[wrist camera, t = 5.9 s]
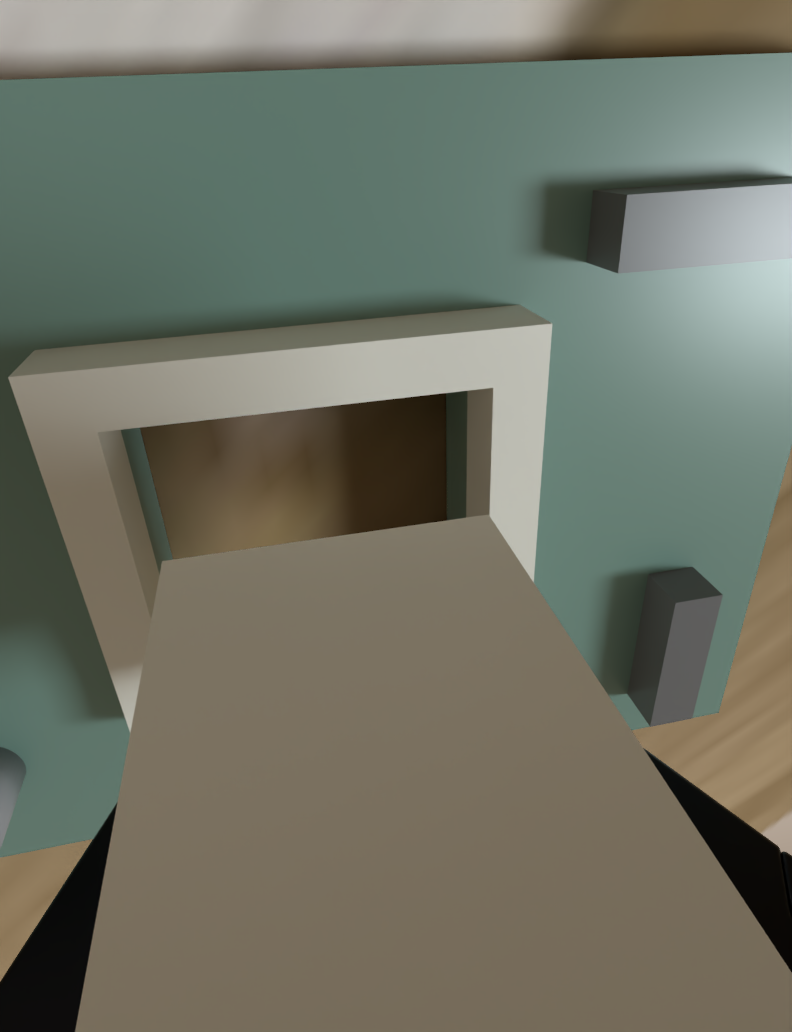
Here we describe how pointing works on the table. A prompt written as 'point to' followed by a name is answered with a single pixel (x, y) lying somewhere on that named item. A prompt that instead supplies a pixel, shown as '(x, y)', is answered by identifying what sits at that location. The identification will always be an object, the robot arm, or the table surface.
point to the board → (392, 349)
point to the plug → (401, 815)
